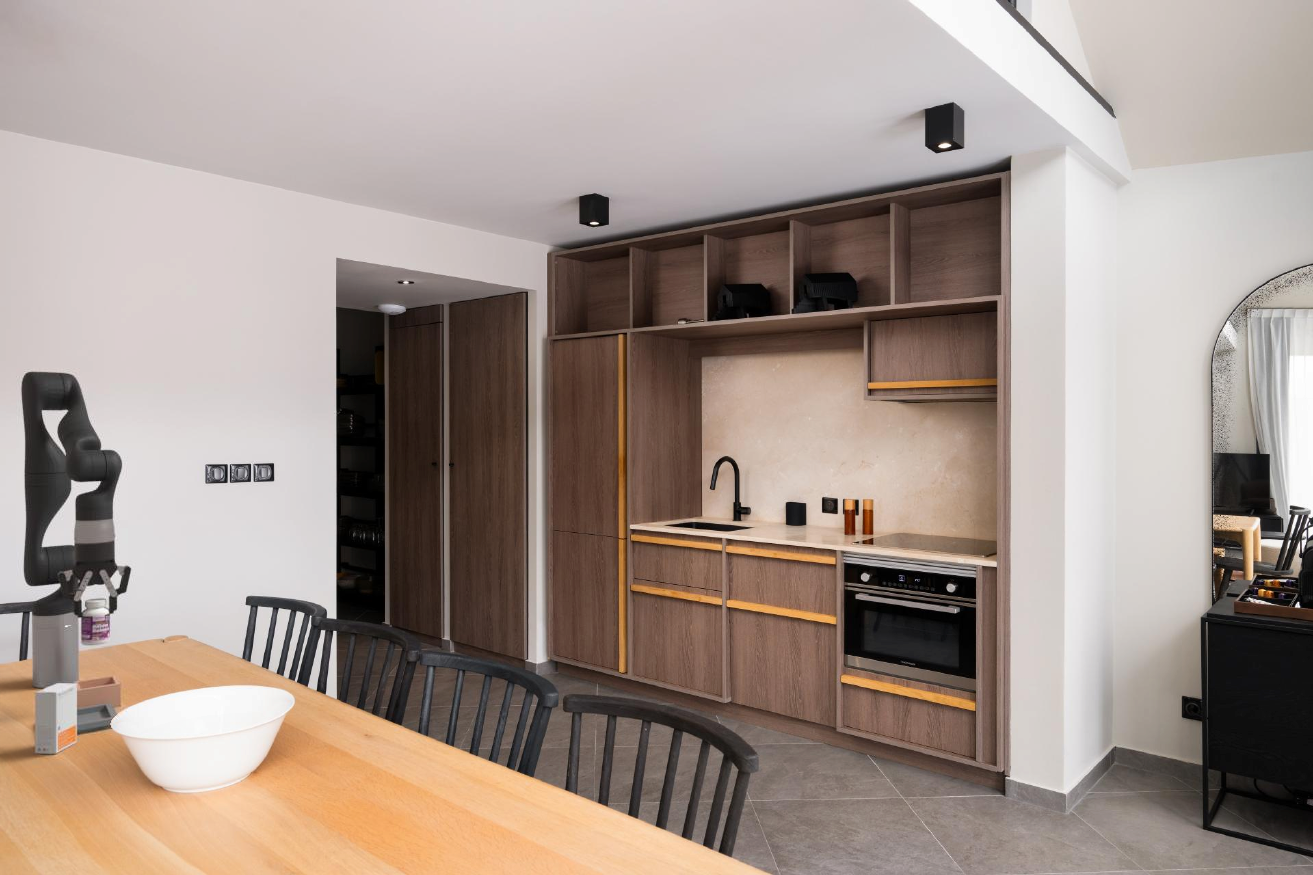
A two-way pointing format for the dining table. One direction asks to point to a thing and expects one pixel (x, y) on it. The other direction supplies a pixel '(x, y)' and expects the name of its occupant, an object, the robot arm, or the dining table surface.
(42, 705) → the skincare box
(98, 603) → the pill bottle
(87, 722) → the charcoal tray
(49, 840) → the dining table surface
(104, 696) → the open beige tray box
